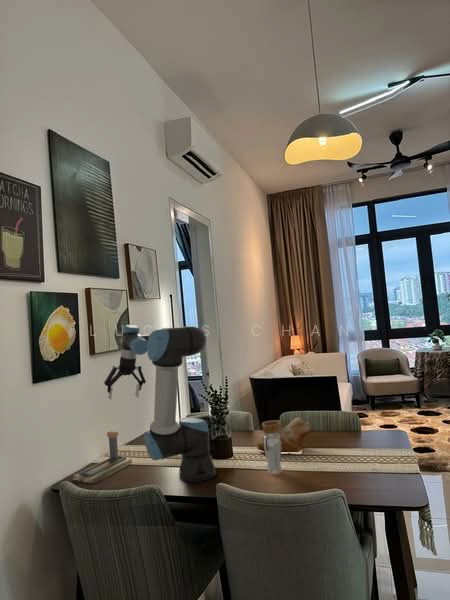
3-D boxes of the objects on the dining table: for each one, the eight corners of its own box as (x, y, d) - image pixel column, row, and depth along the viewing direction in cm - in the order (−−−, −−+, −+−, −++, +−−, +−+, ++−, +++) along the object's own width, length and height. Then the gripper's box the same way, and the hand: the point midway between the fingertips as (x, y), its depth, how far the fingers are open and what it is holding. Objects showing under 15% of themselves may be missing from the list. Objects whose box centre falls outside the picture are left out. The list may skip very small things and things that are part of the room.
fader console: (131, 463, 197) (131, 456, 197) (93, 483, 176) (93, 475, 176) (112, 460, 203) (112, 454, 203) (73, 480, 182) (72, 472, 182)
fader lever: (120, 460, 196) (118, 431, 196) (116, 462, 194) (114, 433, 194) (112, 459, 198) (110, 431, 198) (108, 461, 196) (106, 432, 196)
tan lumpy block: (313, 455, 190) (311, 422, 190) (255, 456, 194) (253, 423, 194) (312, 445, 203) (310, 414, 204) (258, 446, 208) (256, 415, 208)
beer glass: (282, 475, 169) (279, 438, 170) (265, 475, 171) (262, 438, 171) (283, 469, 176) (281, 433, 176) (267, 469, 177) (264, 433, 178)
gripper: (150, 353, 214) (145, 392, 218) (100, 354, 202) (96, 396, 205) (155, 358, 208) (150, 398, 212) (104, 360, 195) (100, 402, 199)
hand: (123, 397), depth 208 cm, fingers open, 13 cm apart
